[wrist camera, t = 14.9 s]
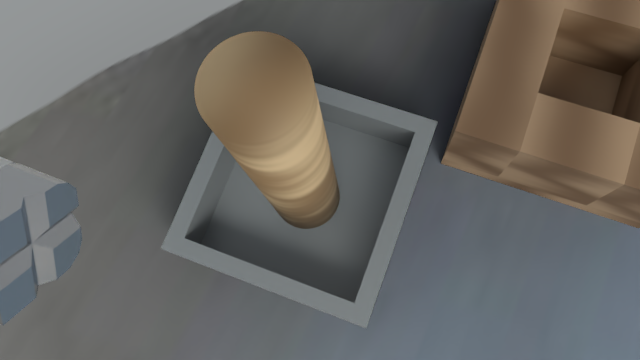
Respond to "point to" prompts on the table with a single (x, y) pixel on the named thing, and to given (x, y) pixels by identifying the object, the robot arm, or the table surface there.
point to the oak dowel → (271, 123)
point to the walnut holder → (557, 104)
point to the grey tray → (323, 241)
